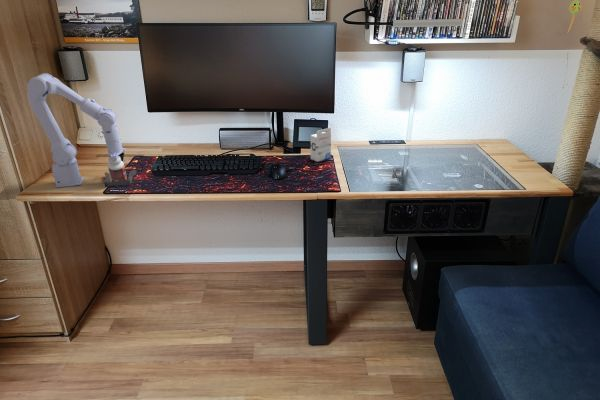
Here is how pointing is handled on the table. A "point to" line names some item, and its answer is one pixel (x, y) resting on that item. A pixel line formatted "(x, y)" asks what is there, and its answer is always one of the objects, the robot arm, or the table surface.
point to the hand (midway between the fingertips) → (121, 170)
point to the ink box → (321, 145)
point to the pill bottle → (117, 169)
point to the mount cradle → (118, 182)
